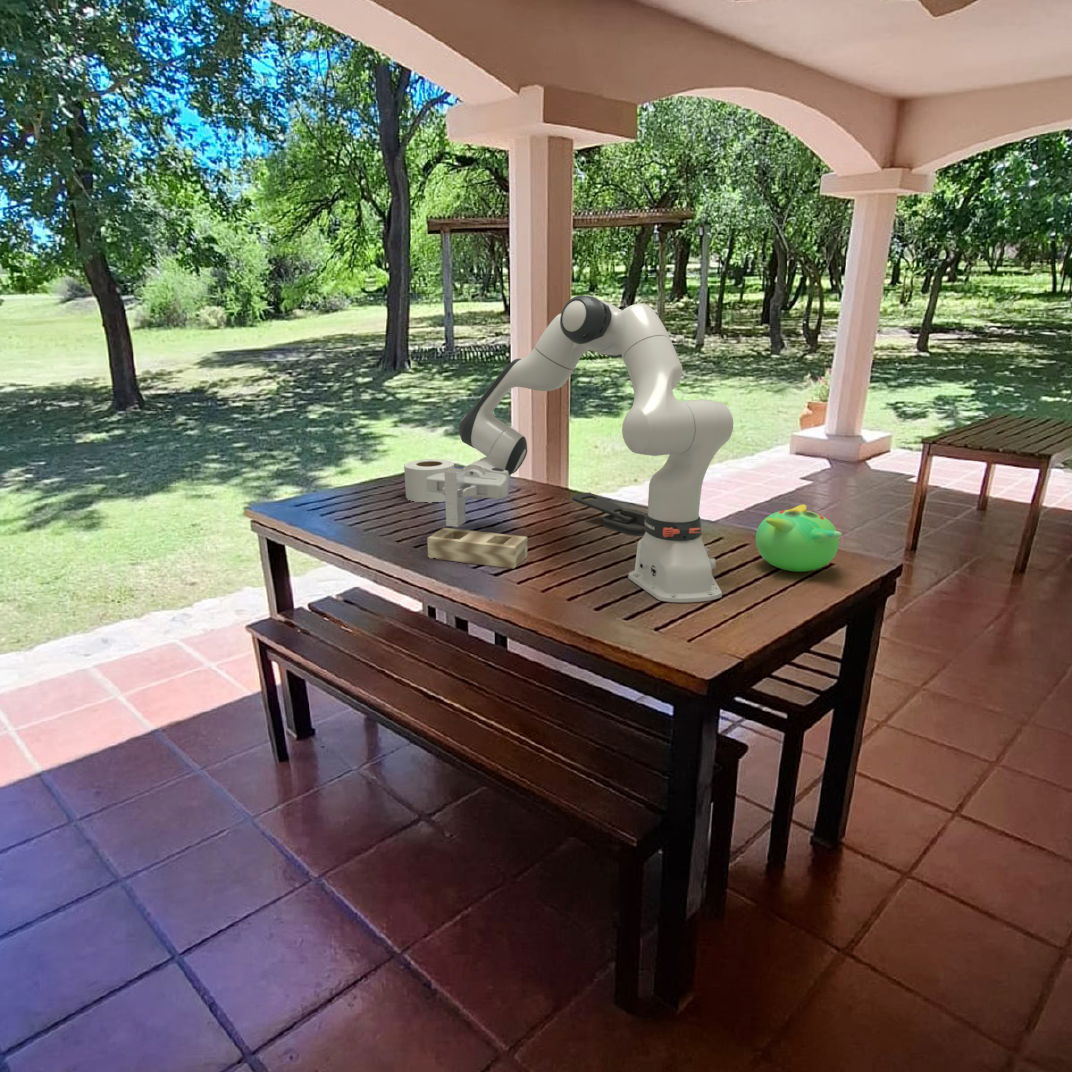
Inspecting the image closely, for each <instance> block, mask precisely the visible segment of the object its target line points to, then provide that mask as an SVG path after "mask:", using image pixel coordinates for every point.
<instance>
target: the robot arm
mask: <svg viewBox="0 0 1072 1072" xmlns="http://www.w3.org/2000/svg"><path fill="white" fill-rule="evenodd" d="M588 351H592V352H595V353H596V354H599V355H603V356H604V355H605V356H607V357H611V358H622V360H623V362H624V365H625V368H626V371H627V374H628V375H629V379H630V382H631V385H632V390H633V404H632V405H631V408H630V409H629V410H628V411H627V413H626V414H625V416H624V418H623V421H622V426H621V433H622V439H623V442H624V444H625V445H626V447H627V448H628V450H630V452H632V453H634V454H637V455H642V456H643V455H645V456H653V457H657V456H658V457H659V456H666V455H667V456H668V455H669V456H668V458H667V459H666V461H665V463H664V465H662V467H661V468H660V469H659V470H658V471H656V472H655V473H654V474H653V475H652V476H651V478H650V481H649V484H648V497H647V499H648V501H647V512H646V513H647V514H646V517H645V531H646V532H645V534H644V536H641V538H640V539H639V540H638V542H637V546H636V556H635V565H634V570H632V571H630V572H629V573H628V576H627V578H628V579H629V580H630V581H632V582H633V583H634V584H636V585H638V587H640V588H642V589H643V590H644V591H645V592H647V593H649V595H651V596H652V597H654V598H655V599H657V600H659V601H661V602H668V603H700V602H701V603H702V602H709V601H714V600H717V599H720V598H722V597H723V592H722V590H721V588H720V585H718V583H717V581H716V580H715V577H714V576H713V572H712V571H713V570H715V569H716V565H717V563H716V562H717V561H716V558H714V557H713V558H711V557H710V558H709V555H708V554H709V548H708V547H705V543H704V541H703V538H702V522H701V516H700V505H701V495H702V488H703V483H704V479H705V477H706V476H705V475H706V474H707V470H708V468H709V466H710V465H711V463H712V460H713V459H714V457H715V455H716V454H717V453H718V452H719V450H720V449H721V448H722V447H724V445H725V444H727V442H728V441H729V440H730V439H731V436H732V434H733V431H734V430H733V429H734V418H733V415H732V412H731V410H730V408H729V407H728V406H727V405H725V404H724V403H723V402H719V401H714V400H709V399H704V398H703V399H691V400H687V399H686V400H679V399H677V398H676V397H675V395H674V393H673V390H674V389H675V388H676V387H677V386H678V384H680V381H681V379H682V376H683V369H684V368H683V365H682V363H681V361H680V359H679V356H678V354H677V351H676V348H675V346H674V344H673V342H672V339H671V337H670V335H669V333H668V331H667V328H666V327H665V325H664V323H663V321H662V320H661V318H660V317H659V316H658V314H657V313H656V311H655V310H654V309H653V307H652V306H649V305H647V304H645V303H635V304H632V305H628V306H626V307H625V308H624V309H620V308H619V307H617V306H615V305H613V304H612V303H610V302H607V301H604V300H601V299H598V298H596V296H591V295H585V294H584V295H581V294H580V295H577V296H574V297H571V298H570V299H569V300H568V301H567V302H566V303H565V305H564V307H563V308H562V310H561V313H558V314H557V315H556V316H555V317H554V318H553V319H552V320H551V321H550V323H548V325H547V327H546V328H545V330H544V331H543V333H542V334H541V335H540V337H539V339H538V340H537V342H536V343H535V346H534V347H533V349H532V350H531V351H530V352H529V353H528V354H527V355H526V356H525V357H523V358H515V359H514V360H512V361H511V362H509V363H508V365H506V366H505V367H504V369H503V370H501V372H500V373H499V375H497V377H496V378H495V379H494V381H493V382H492V383H491V385H490V386H489V387H488V389H487V390H486V391H485V392H484V393H483V395H482V396H481V397H480V399H478V401H477V402H476V403H475V405H474V406H473V407H472V408H470V410H469V411H468V412H467V413H466V414H465V415H464V416H463V417H462V419H461V421H460V423H459V425H458V434H459V437H460V439H461V441H462V443H464V444H466V445H467V446H469V447H471V448H472V449H476V451H478V452H479V453H480V454H483V455H484V457H482V458H480V459H479V460H476V461H473V462H472V463H469V464H468V465H465V466H464V467H463V468H462V469H464V472H465V488H462V489H460V491H459V493H460V494H459V496H460V497H465V498H467V497H469V498H471V499H476V500H477V499H482V498H487V499H503V498H505V497H507V496H508V495H509V494H510V478H511V476H512V475H513V474H515V473H516V472H517V471H518V469H519V468H520V467H521V466H522V465H523V463H524V461H525V459H526V456H527V455H528V443H527V439H526V437H525V436H524V435H523V434H521V433H520V432H519V431H517V430H515V429H514V428H513V427H511V426H509V425H508V424H506V423H504V422H503V421H501V420H500V419H499V418H497V417H496V416H495V415H494V413H493V412H494V411H495V409H496V408H497V406H498V405H499V404H500V403H501V401H502V400H503V399H504V398H505V397H506V395H507V394H508V393H509V391H511V390H512V389H513V388H518V387H519V388H524V389H530V390H534V391H538V392H550V391H555V390H558V389H560V388H561V387H563V386H565V384H566V382H567V381H568V380H569V379H570V377H571V376H572V375H573V374H572V373H573V372H574V370H575V369H576V366H577V365H578V363H579V362H580V360H581V357H582V356H583V355H584V354H585V353H586V352H588ZM426 489H427V491H428V492H435V493H442V494H443V495H445V473H438V474H435V475H432V476H429V477H427V478H426Z"/></svg>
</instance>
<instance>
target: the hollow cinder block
mask: <svg viewBox="0 0 1072 1072" xmlns="http://www.w3.org/2000/svg"><path fill="white" fill-rule="evenodd" d="M426 541H427V558H428V557H429V558H428V559H433V558H436V559H435V560H441V561H442V560H443V561H449V562H450V561H452V562H459V563H466V564H467V563H468V564H475V565H483V566H490V567H491V566H492V567H498V568H505V569H506V568H507V569H515V568H516V567H518V566H519V563H522V562H523V561H524V560H526V559H527V558H528V536H523V535H515V534H504V533H496V532H486V531H478V530H469V529H459V528H453V527H452V528H451V527H442V528H441V529H440V530H438V531H436V532H434V533H433V534H431V535H429V536H428V537H427V539H426Z"/></svg>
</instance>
